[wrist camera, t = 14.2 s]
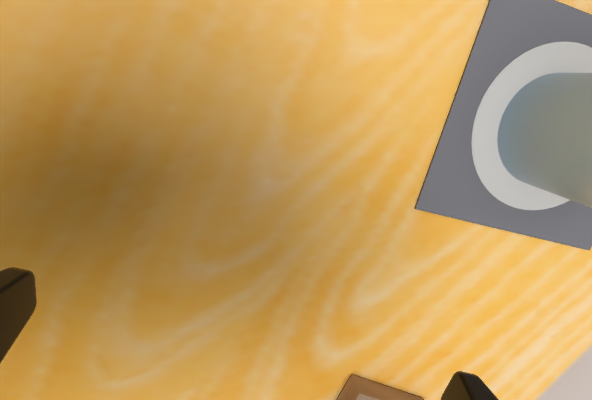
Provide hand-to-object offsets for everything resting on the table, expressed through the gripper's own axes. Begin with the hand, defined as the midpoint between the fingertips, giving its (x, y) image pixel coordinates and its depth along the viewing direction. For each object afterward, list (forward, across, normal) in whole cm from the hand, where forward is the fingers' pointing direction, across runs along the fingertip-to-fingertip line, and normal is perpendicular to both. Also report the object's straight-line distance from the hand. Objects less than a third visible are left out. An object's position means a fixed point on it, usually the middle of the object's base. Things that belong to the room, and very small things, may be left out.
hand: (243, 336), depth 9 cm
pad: (+15, -12, -3) cm, 20 cm away
